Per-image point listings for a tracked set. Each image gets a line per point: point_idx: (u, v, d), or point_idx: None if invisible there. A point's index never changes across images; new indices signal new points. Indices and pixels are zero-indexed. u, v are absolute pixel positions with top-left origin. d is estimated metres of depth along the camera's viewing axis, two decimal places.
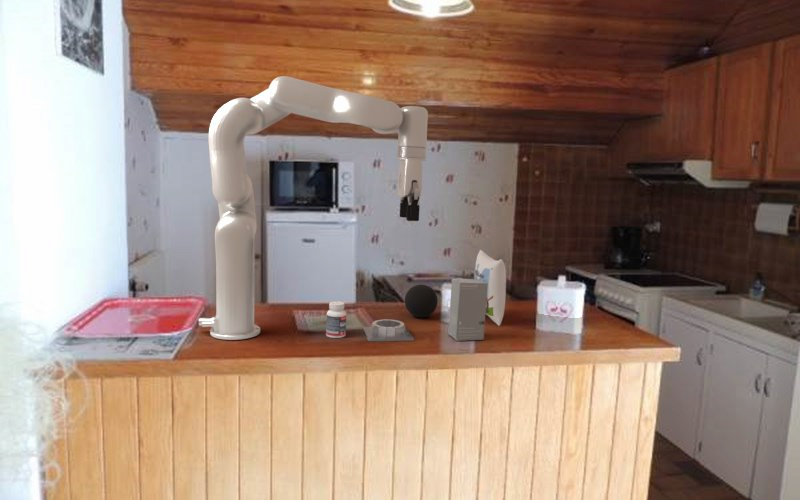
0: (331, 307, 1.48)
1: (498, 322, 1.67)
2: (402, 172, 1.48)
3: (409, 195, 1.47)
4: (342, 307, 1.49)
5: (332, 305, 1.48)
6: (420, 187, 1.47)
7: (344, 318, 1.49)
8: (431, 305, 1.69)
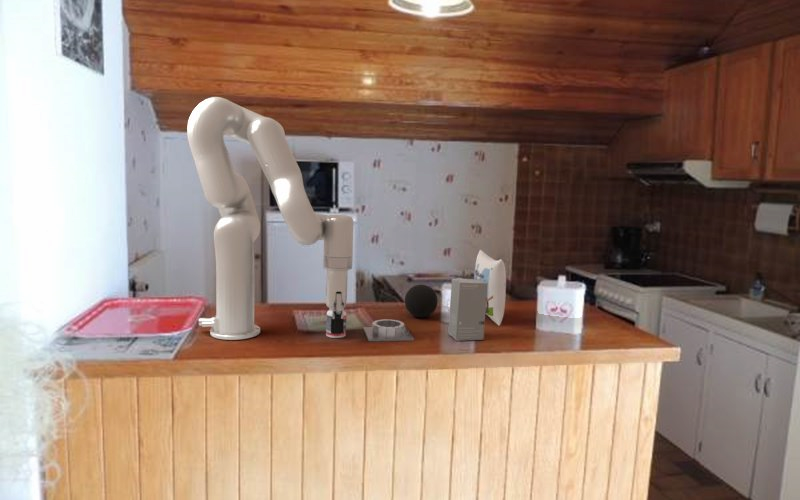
0: (331, 307, 1.48)
1: (498, 322, 1.67)
2: (327, 282, 1.46)
3: (333, 308, 1.46)
4: None
5: None
6: (345, 298, 1.45)
7: (344, 318, 1.49)
8: (430, 305, 1.69)
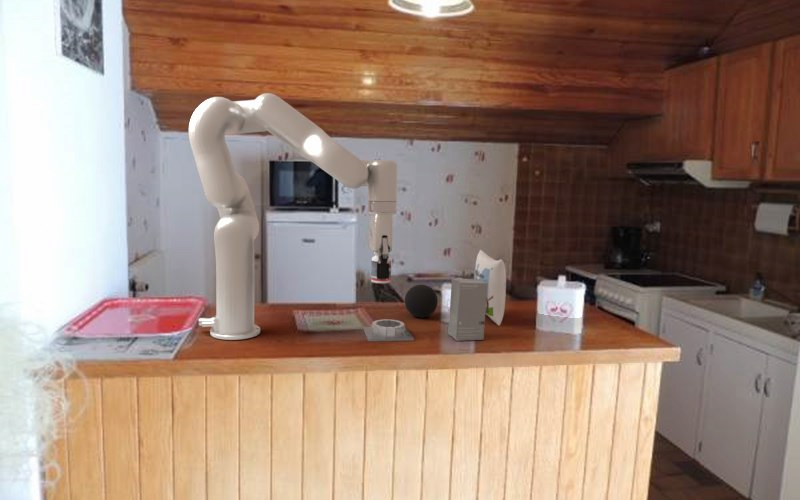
0: (376, 252, 1.48)
1: (498, 322, 1.67)
2: (372, 227, 1.46)
3: (379, 253, 1.46)
4: None
5: None
6: (391, 242, 1.45)
7: (390, 264, 1.49)
8: (430, 305, 1.69)
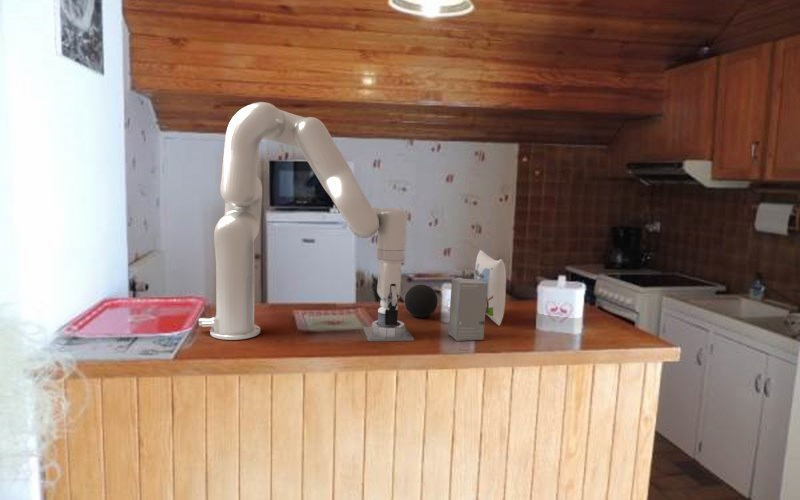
0: (383, 304, 1.51)
1: (498, 322, 1.67)
2: (381, 274, 1.48)
3: (387, 299, 1.48)
4: None
5: (384, 302, 1.51)
6: (399, 290, 1.47)
7: None
8: (430, 305, 1.69)
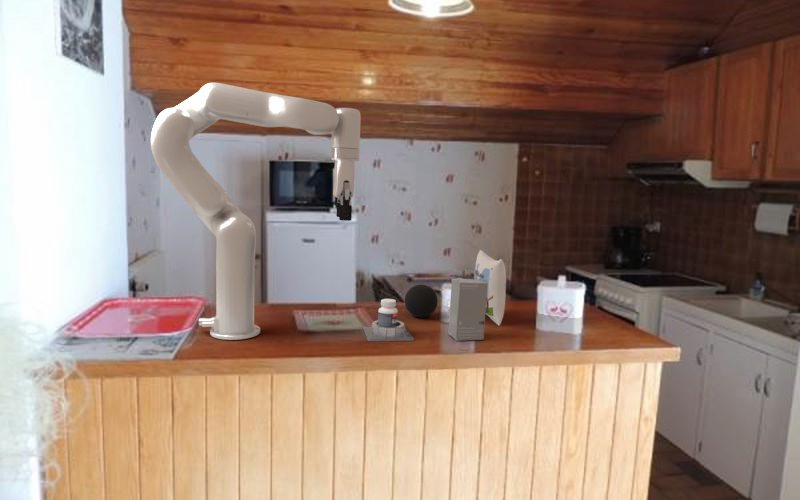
0: (383, 304, 1.51)
1: (498, 322, 1.67)
2: (335, 173, 1.51)
3: (341, 195, 1.50)
4: (394, 304, 1.51)
5: (384, 302, 1.51)
6: (352, 187, 1.50)
7: (396, 316, 1.52)
8: (430, 305, 1.69)
